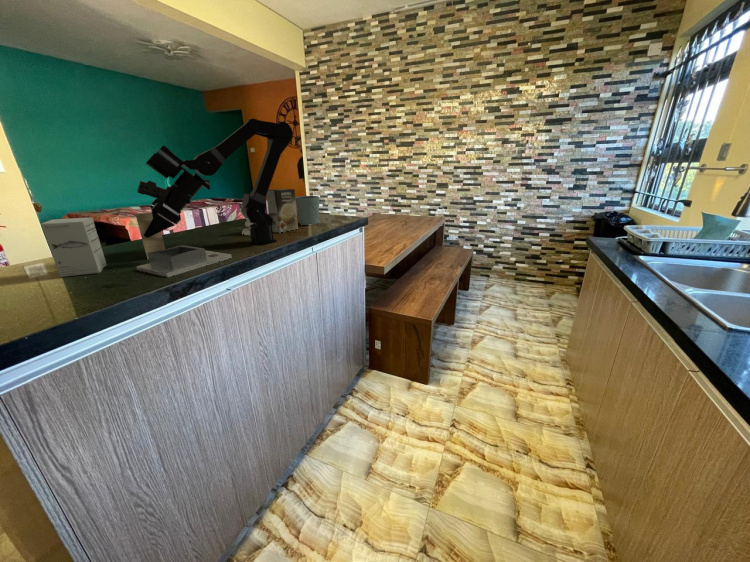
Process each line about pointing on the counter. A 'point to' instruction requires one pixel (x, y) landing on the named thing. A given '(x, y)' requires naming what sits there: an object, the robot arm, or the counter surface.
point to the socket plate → (180, 260)
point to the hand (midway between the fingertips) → (145, 233)
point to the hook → (247, 224)
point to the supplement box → (74, 246)
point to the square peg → (154, 241)
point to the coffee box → (282, 209)
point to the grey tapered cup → (308, 209)
